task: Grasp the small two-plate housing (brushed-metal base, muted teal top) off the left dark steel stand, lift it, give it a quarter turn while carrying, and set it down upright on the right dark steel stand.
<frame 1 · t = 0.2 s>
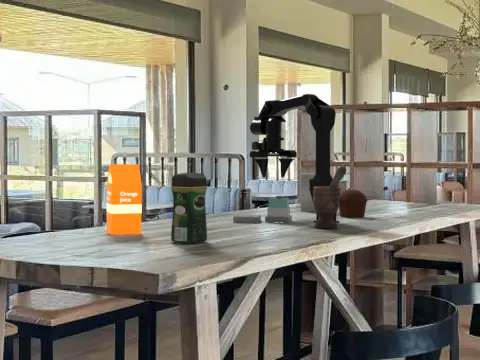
hand: (273, 177, 288), 14 cm above the table, fingers open, 9 cm apart
coffee jar: (188, 243, 209), on the table
muffin: (351, 217, 293), on the table
stand a: (278, 221, 269), on the table
housing: (278, 216, 269), point 2 cm above the table, touching stand a
circuit breaker: (309, 210, 320), on the table
stand b: (247, 221, 268), on the table
orange juice: (123, 233, 230), on the table
mortar and pestle: (330, 229, 249), on the table
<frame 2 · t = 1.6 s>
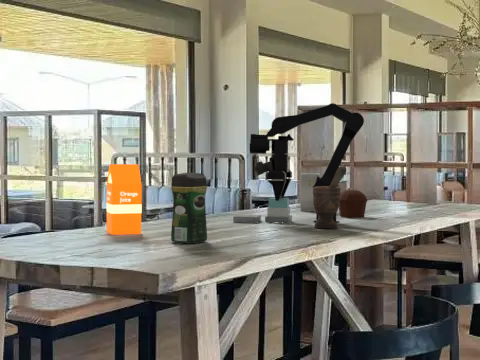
hand: (279, 199, 268), 8 cm above the table, fingers open, 9 cm apart
nothing on the table moved.
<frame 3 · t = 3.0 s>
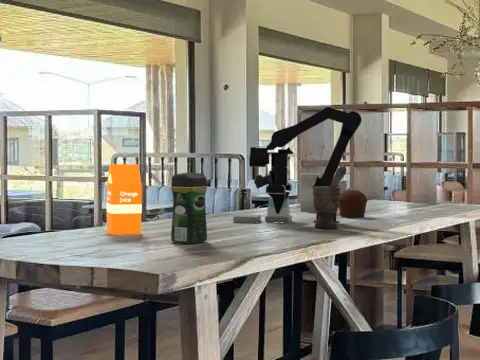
hand: (278, 213, 269), 3 cm above the table, fingers closed on housing, 5 cm apart
housing: (278, 216, 269), point 2 cm above the table, touching gripper, stand a
everything else where it was.
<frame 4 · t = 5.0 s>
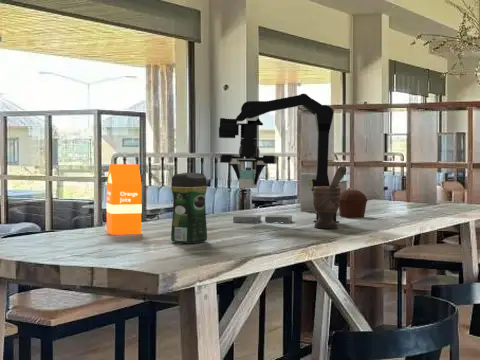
hand: (248, 184, 267), 13 cm above the table, fingers closed on housing, 5 cm apart
housing: (248, 187, 267), point 12 cm above the table, touching gripper
everything else where it was.
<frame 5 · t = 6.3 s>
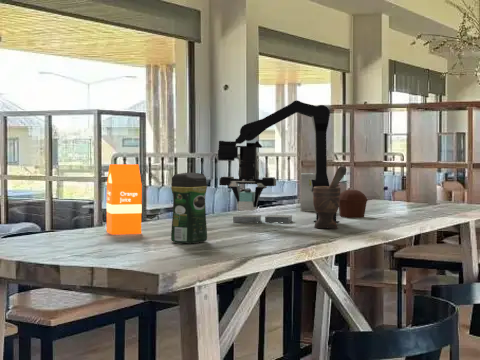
hand: (247, 206, 268), 5 cm above the table, fingers closed on housing, 5 cm apart
housing: (247, 209, 268), point 4 cm above the table, touching gripper
everything else where it was.
when the fingers open (4 cm above the table, at t = 7.3 s): housing drops 1 cm, resting on stand b.
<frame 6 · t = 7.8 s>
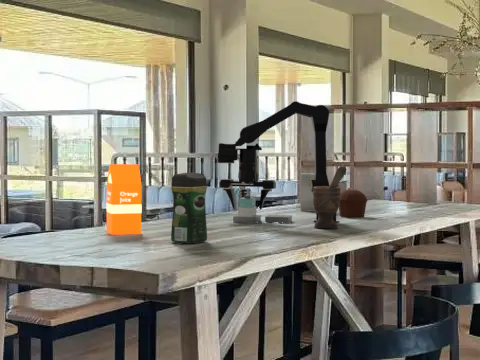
hand: (247, 209, 268), 4 cm above the table, fingers open, 9 cm apart
housing: (247, 215, 268), point 2 cm above the table, touching stand b
everything else where it was.
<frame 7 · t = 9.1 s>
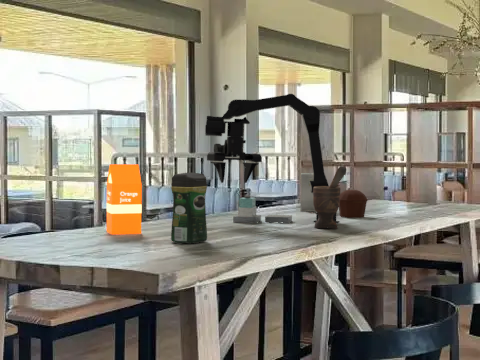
hand: (233, 182, 268), 13 cm above the table, fingers open, 9 cm apart
nothing on the table moved.
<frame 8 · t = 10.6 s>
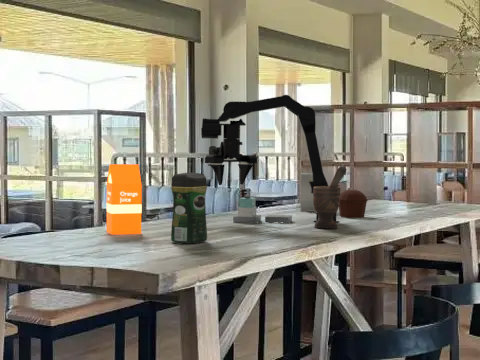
hand: (231, 184, 268), 12 cm above the table, fingers open, 9 cm apart
nothing on the table moved.
at the end: housing inside the target area on the stand b (0.1 cm from its centre), point 2.0 cm above the stand b's base; housing tilted 0°; the gripper is holding nothing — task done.
